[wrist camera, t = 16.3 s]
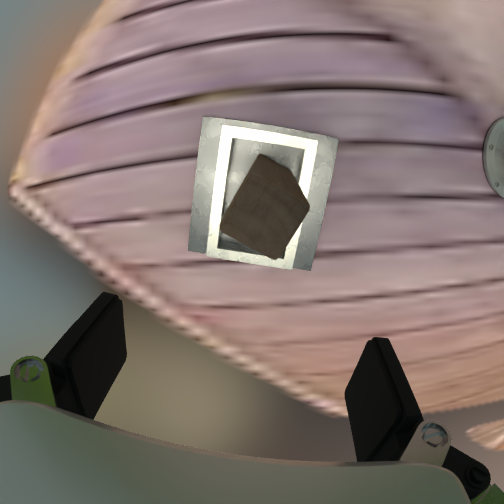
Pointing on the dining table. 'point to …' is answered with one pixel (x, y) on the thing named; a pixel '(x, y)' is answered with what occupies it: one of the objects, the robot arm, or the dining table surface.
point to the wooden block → (266, 208)
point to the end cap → (235, 170)
